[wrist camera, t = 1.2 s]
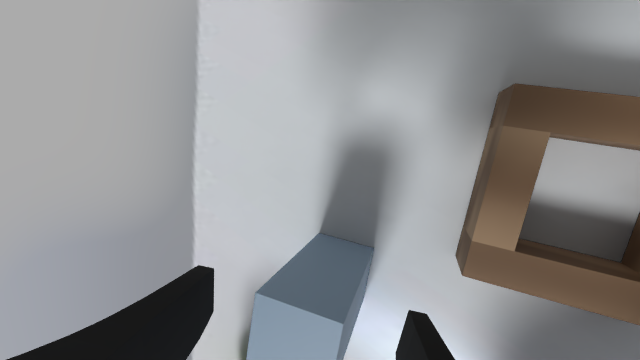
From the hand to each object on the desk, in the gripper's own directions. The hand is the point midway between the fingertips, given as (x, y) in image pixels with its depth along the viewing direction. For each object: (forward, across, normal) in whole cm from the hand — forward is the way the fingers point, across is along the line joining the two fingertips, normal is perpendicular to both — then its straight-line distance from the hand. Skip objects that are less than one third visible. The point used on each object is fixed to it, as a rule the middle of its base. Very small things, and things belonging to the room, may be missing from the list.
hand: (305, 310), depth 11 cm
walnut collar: (+9, -13, -4) cm, 16 cm away
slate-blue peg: (+10, -1, +5) cm, 11 cm away
